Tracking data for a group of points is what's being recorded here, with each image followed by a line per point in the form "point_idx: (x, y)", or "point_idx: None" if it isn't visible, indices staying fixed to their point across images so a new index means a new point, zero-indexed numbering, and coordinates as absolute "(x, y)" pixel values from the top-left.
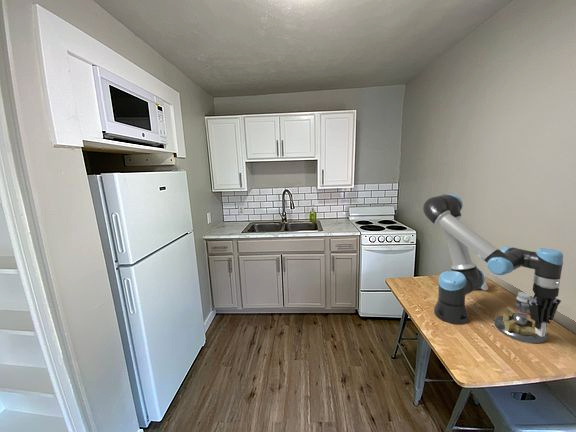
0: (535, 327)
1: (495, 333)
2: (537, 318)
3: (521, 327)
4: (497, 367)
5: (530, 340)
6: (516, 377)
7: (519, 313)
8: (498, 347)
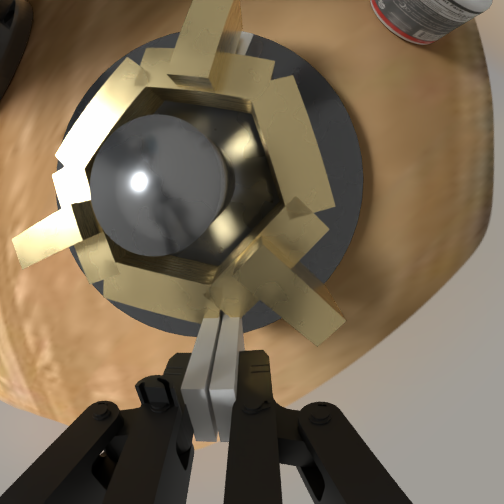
0: (199, 332)
1: (41, 209)
2: (109, 480)
3: (118, 273)
4: (3, 375)
5: (151, 326)
6: (33, 411)
7: (180, 128)
8: (17, 308)
